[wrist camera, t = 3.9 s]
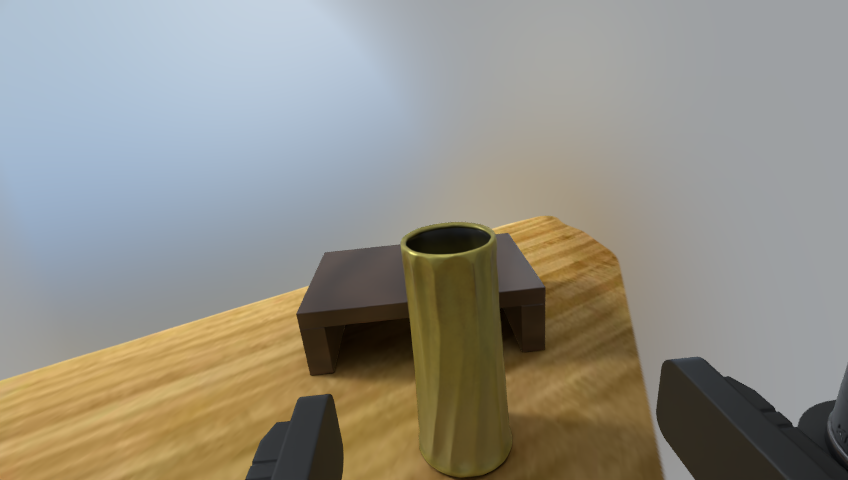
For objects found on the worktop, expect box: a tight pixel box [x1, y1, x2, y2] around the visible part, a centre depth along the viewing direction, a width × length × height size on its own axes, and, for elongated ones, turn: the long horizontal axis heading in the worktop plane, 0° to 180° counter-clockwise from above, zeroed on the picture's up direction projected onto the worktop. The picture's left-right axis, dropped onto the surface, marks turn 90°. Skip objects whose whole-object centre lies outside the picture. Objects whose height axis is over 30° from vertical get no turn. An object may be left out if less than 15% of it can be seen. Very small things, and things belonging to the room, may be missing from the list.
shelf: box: [296, 233, 545, 375], centre depth 41 cm, size 20×13×6 cm, turn 93°
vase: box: [401, 222, 512, 477], centre depth 26 cm, size 6×6×14 cm
